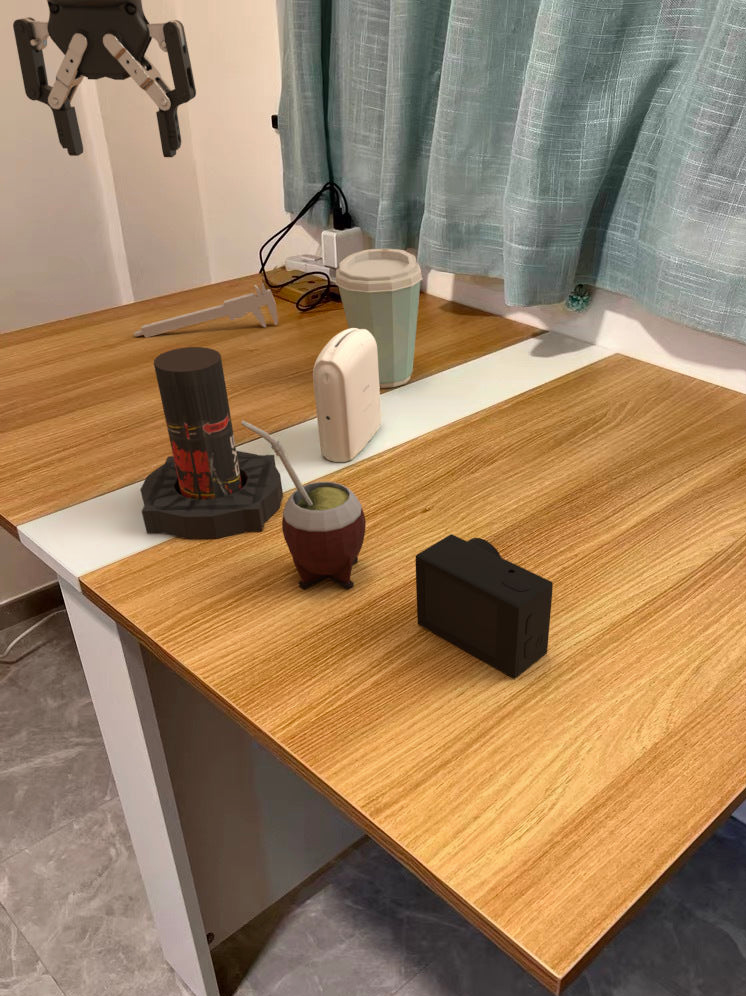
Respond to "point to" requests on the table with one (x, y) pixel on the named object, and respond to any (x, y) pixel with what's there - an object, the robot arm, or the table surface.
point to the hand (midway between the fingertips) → (123, 155)
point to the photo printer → (347, 394)
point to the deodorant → (198, 422)
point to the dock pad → (212, 502)
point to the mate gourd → (320, 526)
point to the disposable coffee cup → (383, 306)
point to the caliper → (218, 313)
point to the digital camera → (483, 603)
